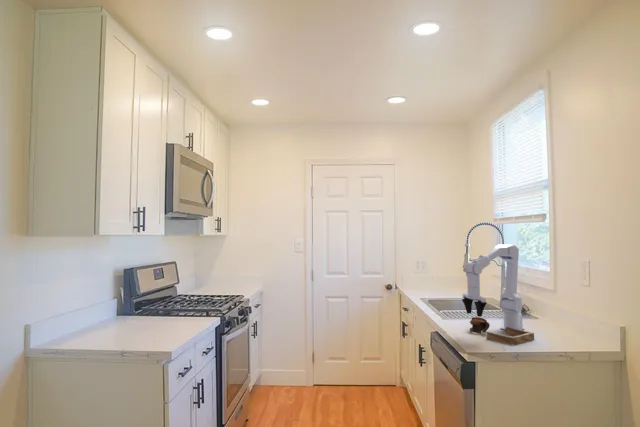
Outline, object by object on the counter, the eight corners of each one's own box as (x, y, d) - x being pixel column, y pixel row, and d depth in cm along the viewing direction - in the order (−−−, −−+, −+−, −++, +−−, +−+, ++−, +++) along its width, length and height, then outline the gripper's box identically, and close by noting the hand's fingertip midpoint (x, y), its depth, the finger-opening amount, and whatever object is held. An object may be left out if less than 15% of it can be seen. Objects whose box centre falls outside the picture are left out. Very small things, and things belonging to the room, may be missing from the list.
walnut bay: (507, 333, 205) (507, 327, 205) (534, 339, 194) (534, 332, 194) (486, 338, 195) (486, 332, 196) (513, 345, 184) (513, 338, 184)
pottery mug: (464, 332, 210) (466, 316, 214) (477, 338, 213) (479, 323, 216) (482, 331, 200) (484, 314, 203) (496, 337, 203) (498, 321, 206)
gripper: (457, 285, 208) (457, 312, 207) (477, 289, 194) (477, 318, 193) (468, 284, 210) (469, 311, 209) (489, 288, 196) (489, 317, 196)
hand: (474, 314), depth 202 cm, fingers open, 7 cm apart
